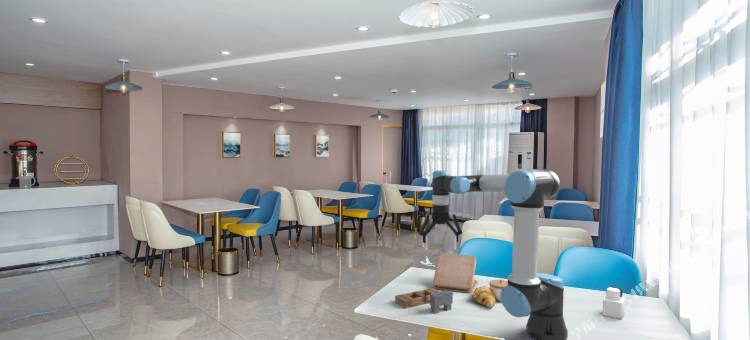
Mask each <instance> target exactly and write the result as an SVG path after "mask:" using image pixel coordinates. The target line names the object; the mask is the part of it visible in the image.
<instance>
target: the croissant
mask: <svg viewBox="0 0 750 340" xmlns="http://www.w3.org/2000/svg"><path fill="white" fill-rule="evenodd" d="M472 293H473V294H472V298H473V300H474V301H475V302H476V303H478V304H480V305H482V306H484V307H487V308H493V307H494V306H495V304H496V300H495V296H494V293H493V291H492V290H491V289H490V287H487V286H485V285H484V286H480V287H475V289H474V290H473V292H472Z"/></svg>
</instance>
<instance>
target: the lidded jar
mask: <svg viewBox="0 0 750 340" xmlns="http://www.w3.org/2000/svg"><path fill="white" fill-rule="evenodd" d="M507 283H508V280H505V279H492V280H490V281H489V283H488V284H489V289H491V290H492V291H493V293H494V296H495V301H498V302H501V297H500V295H501V291H502V289H503V288H504V287H505V286H507Z"/></svg>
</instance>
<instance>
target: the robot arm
mask: <svg viewBox="0 0 750 340" xmlns="http://www.w3.org/2000/svg"><path fill="white" fill-rule="evenodd" d="M431 183H432V185H431V186H432V189H431V190H432V191H431V192H432V205H431V207H432V211H431V212H432V214H427V213H426V214H425V216H424V221H423V223H422V225H421V226H420V229H419V231H418V235H419V236H422V243H423V244H424V250H425V251H428V250H429V248H428V241H429V240H428V239H429V237H428V236H427V235H428V234H429V233H430V232H431V230H432V229H433V227H434V226H436V225H445V224H446V225H447V227H448V228H449V229H450V230H451V231H452V232H453V233H454V234H453V235H452V249H453V250H454V251H457V243H458V242H459V237H460V235H462V234H463V231H462V229H461V227H460V224H459V222H458V221H457V215H456V214H454V213H452V214H450V213H449V212H450V205H449V204H450V193H452V194H456V195H463V194H466V193H474V192H475V193H476V192H480V193H483V192H484V193H485V192H486V193H504V194H505V196H506V198H507V200H508V201H510V203H509V204H510V207H511V208H512V209H513V210H514V214H513V216H514V217H513V238H512V239H513V243H512V265H511V266H512V267H511V268H512V269H511V271H512V272H511V273H510V274H509V275H508V276H507V281H508V283H507V286H505V287H504V288H503V289H502V291H501V295H500V297H501V301H500V302H501V304H502V306H503V307H504V309H505V310H506V311H505V312H507V313H508V314H509V315H511V316H513V317H515V318H523V317H528V316H529V317H528V319H527V322H526V323H525V325H526V327H525V333H526V334H527V335H528V336H530V337H531V338H533V339H535V340H567V339H568V338H569V337H568V336H569V335H568V333H569V332H568V328H567V325H566V322H565V318H564V289H565V287H564V281H563V280H564V279H562V278H561V277H559V276H556V275H553V274H549V273H541V272H537V271H538V270H537V269H538V268H537V267H538V251H539V250H538V249H539V227H540V225H539V223H540V212H541V211H542V210H543V209H544V208H545V200H550V199H552V198H554V197H555V196H557V195H558V192H559V190H560V188H561V181H560V178H559V176H558V174H557V173H556V172H554V171H553V170H551V169H549V168H548V169H547V168H536V169H535V168H534V169H533V168H532V169H531V168H530V169H529V168H527V169H526V168H525V169H519V170H515V171H512V173H510V174H509V173H508V174H476V175H475V174H474V175H450V172H449V170H433V172H432V179H431ZM450 219H451V220H452V222H453V224H454V226H455V228H456V229H455V228H454V226H453V225H452V224H451V223H450V221H449V220H450ZM429 220H432V221H431V222H430V223H429ZM428 223H429V224H428ZM427 225H428V226H427Z"/></svg>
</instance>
